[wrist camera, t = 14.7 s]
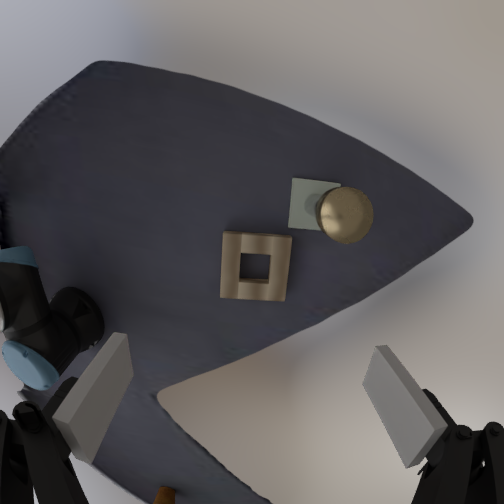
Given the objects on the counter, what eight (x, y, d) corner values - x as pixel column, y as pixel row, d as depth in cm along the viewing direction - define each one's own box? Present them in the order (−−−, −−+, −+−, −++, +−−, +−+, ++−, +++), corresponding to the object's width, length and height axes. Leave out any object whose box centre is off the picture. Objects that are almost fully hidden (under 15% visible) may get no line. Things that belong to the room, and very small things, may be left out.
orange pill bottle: (151, 486, 74) (145, 508, 62) (165, 483, 73) (160, 506, 61) (168, 495, 76) (165, 517, 64) (184, 492, 75) (180, 515, 63)
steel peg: (294, 222, 50) (318, 241, 33) (297, 184, 48) (324, 183, 32) (331, 226, 50) (369, 245, 34) (334, 188, 49) (375, 191, 32)
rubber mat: (287, 227, 51) (288, 227, 50) (292, 177, 49) (293, 177, 48) (334, 231, 51) (335, 231, 51) (339, 183, 49) (340, 183, 48)
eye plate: (221, 292, 53) (220, 297, 51) (224, 230, 51) (223, 233, 48) (282, 296, 54) (284, 301, 52) (289, 235, 51) (292, 238, 49)
